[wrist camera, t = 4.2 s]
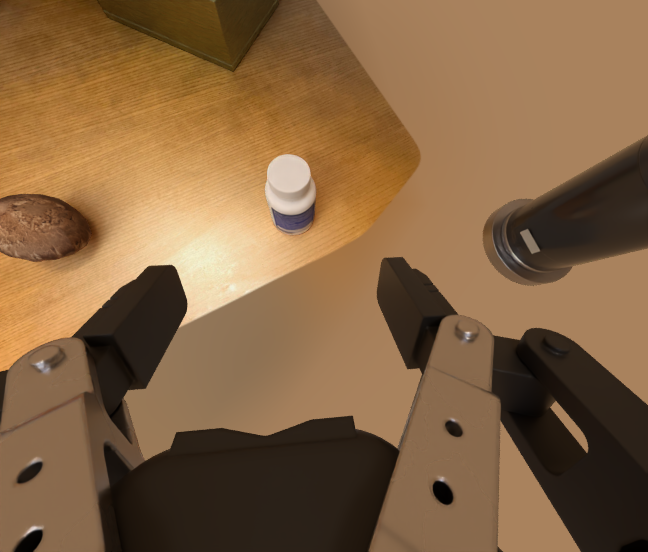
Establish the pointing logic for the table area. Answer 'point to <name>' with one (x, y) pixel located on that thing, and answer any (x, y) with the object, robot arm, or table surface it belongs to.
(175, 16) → the open box
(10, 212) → the mushroom
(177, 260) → the table surface
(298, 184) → the pill bottle
